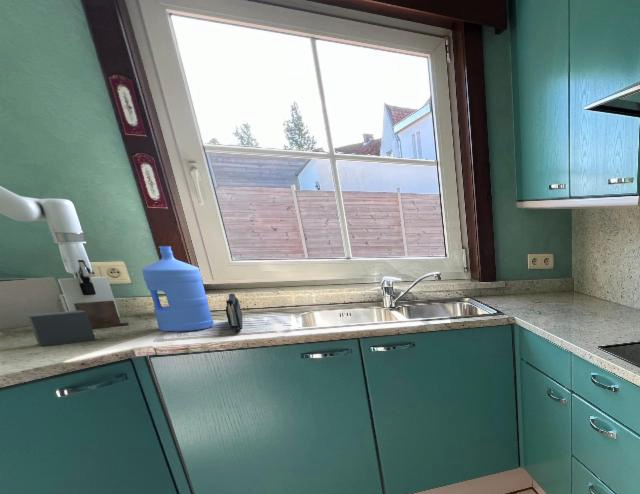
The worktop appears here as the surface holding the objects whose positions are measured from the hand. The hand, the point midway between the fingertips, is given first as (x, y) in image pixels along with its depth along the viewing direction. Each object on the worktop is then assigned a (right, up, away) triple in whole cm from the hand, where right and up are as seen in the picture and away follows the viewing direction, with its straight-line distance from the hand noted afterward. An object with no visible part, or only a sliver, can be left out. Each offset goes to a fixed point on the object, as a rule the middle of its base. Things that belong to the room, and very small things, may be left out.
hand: (88, 294), depth 171 cm
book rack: (-2, -10, +5) cm, 12 cm away
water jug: (+29, -11, +6) cm, 32 cm away
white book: (0, -8, +3) cm, 9 cm away
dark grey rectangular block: (+12, -20, -18) cm, 29 cm away
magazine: (+44, -10, +11) cm, 47 cm away
